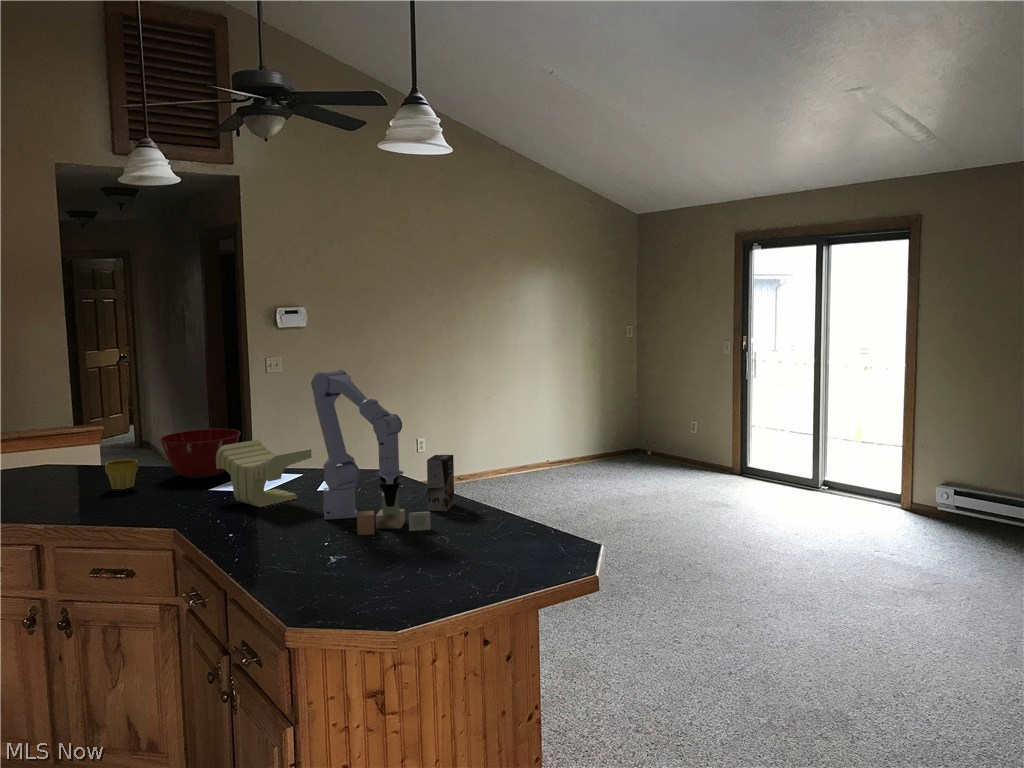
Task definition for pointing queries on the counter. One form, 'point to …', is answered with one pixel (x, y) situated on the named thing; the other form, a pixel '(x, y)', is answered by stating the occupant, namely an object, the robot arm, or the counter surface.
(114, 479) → the plant pot
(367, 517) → the terracotta block
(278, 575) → the counter surface
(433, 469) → the coffee box
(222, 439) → the mixing bowl
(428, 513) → the placard
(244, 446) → the slatted curved stool
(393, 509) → the sage block
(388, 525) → the birch base block
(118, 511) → the counter surface
